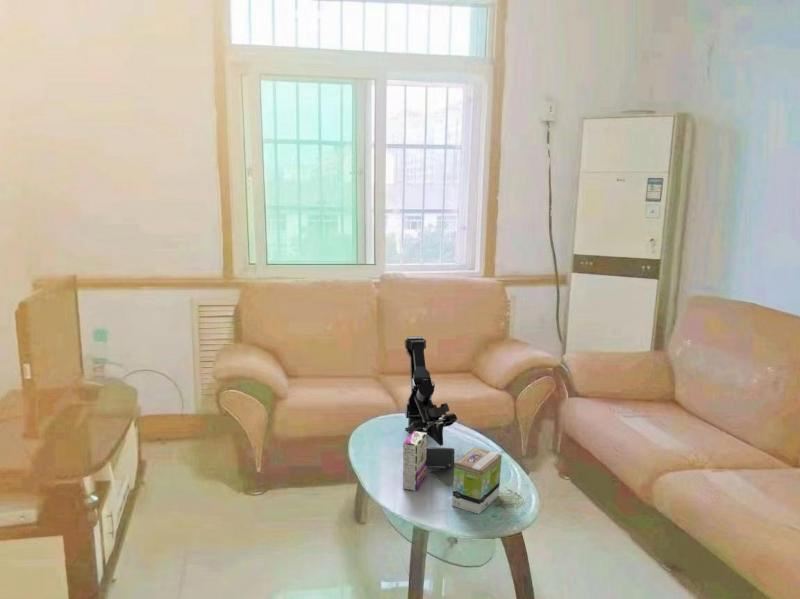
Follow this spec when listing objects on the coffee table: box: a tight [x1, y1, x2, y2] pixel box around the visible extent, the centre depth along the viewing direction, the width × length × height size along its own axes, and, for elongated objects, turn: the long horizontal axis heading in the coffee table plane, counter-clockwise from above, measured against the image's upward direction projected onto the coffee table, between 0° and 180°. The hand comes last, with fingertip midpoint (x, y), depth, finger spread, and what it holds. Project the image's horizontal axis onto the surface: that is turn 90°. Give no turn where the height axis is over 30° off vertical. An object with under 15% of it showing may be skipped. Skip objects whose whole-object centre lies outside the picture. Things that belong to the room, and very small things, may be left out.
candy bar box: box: [402, 431, 428, 492], centre depth 207 cm, size 11×5×16 cm, turn 160°
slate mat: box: [428, 464, 455, 487], centre depth 216 cm, size 12×16×1 cm
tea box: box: [451, 446, 503, 515], centre depth 197 cm, size 15×10×15 cm, turn 148°
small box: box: [426, 446, 455, 468], centre depth 218 cm, size 11×6×10 cm
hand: (441, 445), depth 224 cm, fingers closed
